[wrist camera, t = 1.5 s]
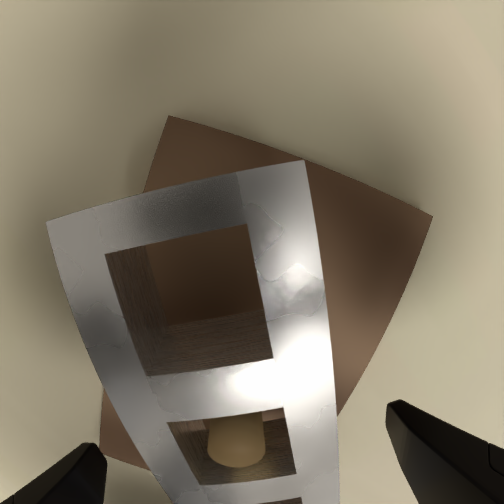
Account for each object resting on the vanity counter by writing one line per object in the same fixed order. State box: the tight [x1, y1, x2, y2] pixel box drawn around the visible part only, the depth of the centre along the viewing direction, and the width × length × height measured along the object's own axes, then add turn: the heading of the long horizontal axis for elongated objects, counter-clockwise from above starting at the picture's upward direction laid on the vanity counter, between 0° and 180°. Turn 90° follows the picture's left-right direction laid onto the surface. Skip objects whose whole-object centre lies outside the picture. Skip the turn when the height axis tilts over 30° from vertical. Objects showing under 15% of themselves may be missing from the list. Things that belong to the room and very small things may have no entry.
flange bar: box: [46, 160, 340, 504], centre depth 9 cm, size 14×6×3 cm, turn 11°
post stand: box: [99, 116, 433, 471], centre depth 10 cm, size 16×10×5 cm, turn 161°
